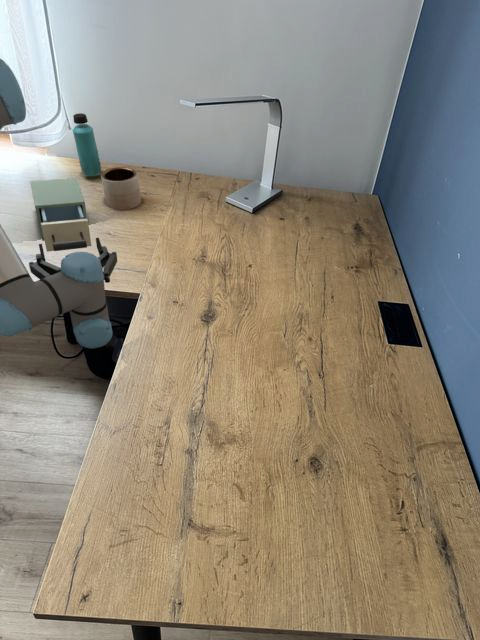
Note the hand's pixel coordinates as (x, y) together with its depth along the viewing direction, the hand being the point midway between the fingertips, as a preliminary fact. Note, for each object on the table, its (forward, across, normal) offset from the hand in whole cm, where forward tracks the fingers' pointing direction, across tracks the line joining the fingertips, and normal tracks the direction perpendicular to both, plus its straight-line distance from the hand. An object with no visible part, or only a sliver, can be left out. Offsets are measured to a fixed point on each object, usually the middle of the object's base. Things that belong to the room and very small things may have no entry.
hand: (70, 245), depth 127 cm
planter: (+31, +20, -6) cm, 37 cm away
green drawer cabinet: (+22, 0, -7) cm, 23 cm away
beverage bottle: (+52, +14, -7) cm, 54 cm away
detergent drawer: (+9, 0, -6) cm, 11 cm away
